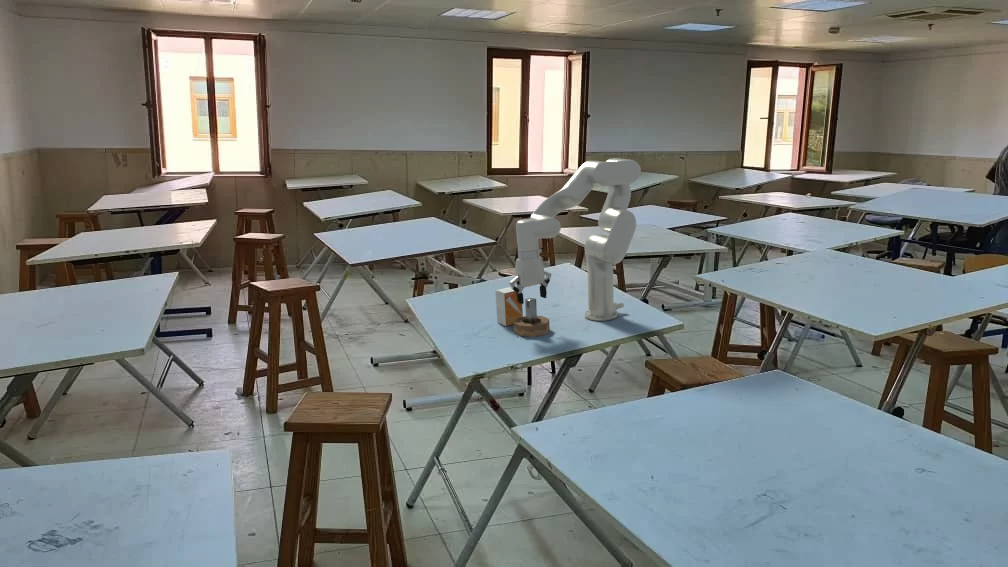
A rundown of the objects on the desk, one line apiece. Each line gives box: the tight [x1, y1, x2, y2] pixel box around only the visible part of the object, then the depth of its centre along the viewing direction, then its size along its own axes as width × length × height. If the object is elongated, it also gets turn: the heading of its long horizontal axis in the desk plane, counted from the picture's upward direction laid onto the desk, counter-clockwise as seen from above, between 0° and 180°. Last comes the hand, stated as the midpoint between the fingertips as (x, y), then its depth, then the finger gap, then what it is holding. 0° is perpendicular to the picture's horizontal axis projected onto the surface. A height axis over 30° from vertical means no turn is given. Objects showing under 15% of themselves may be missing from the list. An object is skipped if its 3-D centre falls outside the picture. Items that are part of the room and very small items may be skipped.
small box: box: [495, 286, 524, 327], centre depth 267 cm, size 8×6×13 cm
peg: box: [524, 297, 538, 324], centre depth 255 cm, size 4×4×12 cm
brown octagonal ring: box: [513, 315, 550, 338], centre depth 256 cm, size 12×12×4 cm
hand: (532, 300), depth 254 cm, fingers open, 9 cm apart
